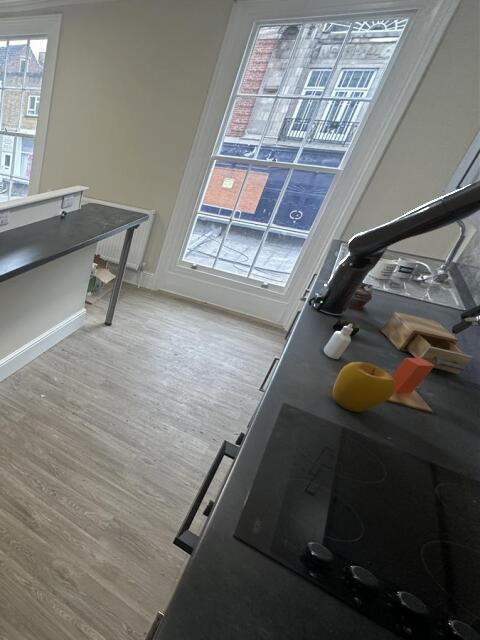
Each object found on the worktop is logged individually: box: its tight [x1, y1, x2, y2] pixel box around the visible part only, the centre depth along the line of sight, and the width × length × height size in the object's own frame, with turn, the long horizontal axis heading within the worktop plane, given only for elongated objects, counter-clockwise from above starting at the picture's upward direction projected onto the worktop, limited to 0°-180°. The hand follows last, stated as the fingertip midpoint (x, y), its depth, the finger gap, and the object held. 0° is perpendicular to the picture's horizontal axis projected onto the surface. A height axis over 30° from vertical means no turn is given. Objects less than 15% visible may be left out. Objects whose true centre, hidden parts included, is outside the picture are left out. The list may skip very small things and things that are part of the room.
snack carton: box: [390, 357, 435, 393], centre depth 116 cm, size 4×6×10 cm, turn 96°
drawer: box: [405, 333, 473, 374], centre depth 132 cm, size 18×11×6 cm, turn 156°
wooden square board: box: [386, 389, 434, 413], centre depth 118 cm, size 12×14×1 cm
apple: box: [332, 361, 396, 413], centre depth 107 cm, size 11×11×13 cm
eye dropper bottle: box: [323, 324, 353, 360], centre depth 130 cm, size 4×6×12 cm
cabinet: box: [381, 311, 459, 354], centre depth 142 cm, size 15×12×8 cm
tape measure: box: [332, 319, 360, 337], centre depth 147 cm, size 7×7×4 cm
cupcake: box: [346, 281, 374, 310], centre depth 169 cm, size 10×10×10 cm
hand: (470, 340), depth 111 cm, fingers open, 8 cm apart
